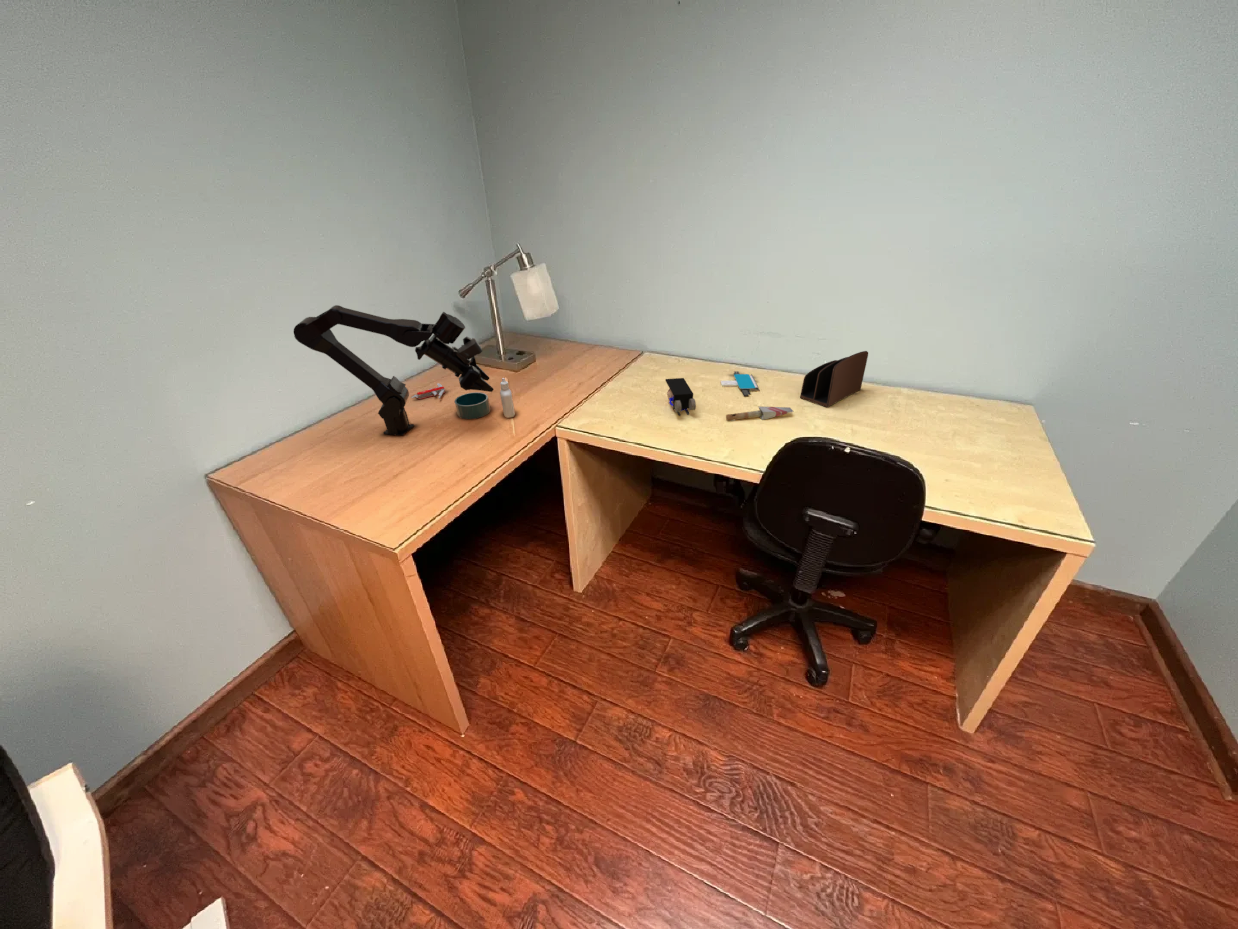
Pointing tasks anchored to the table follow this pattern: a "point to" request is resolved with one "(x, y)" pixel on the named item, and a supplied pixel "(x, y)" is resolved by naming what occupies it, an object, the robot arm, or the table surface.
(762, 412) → the paintbrush
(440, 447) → the table surface
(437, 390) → the swiss army knife
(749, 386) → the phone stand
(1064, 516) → the table surface
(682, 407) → the black block with wheels
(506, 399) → the eye dropper bottle
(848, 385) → the letter holder
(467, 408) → the teal bowl
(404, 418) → the robot arm
